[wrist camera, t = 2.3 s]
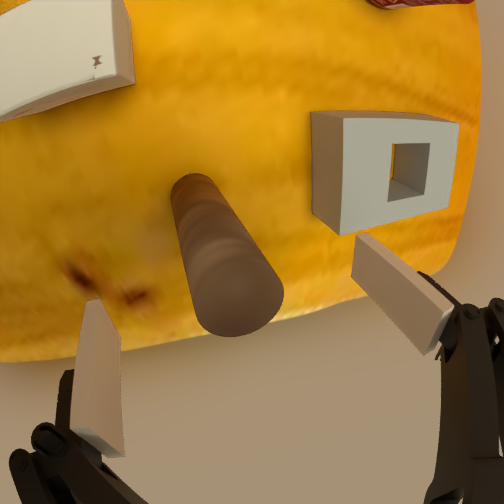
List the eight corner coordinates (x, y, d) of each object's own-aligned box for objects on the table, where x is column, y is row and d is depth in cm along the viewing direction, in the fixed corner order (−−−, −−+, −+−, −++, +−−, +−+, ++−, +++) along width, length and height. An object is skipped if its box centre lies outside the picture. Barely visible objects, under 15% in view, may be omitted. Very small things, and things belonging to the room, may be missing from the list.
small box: (131, 20, 15) (117, -33, 6) (136, 85, 18) (121, 75, 9) (35, 50, 13) (-33, 32, 4) (41, 113, 16) (-29, 132, 7)
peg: (175, 222, 25) (205, 346, 13) (166, 179, 22) (186, 280, 11) (220, 212, 26) (284, 322, 14) (214, 169, 23) (282, 255, 12)
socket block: (312, 212, 29) (339, 235, 24) (310, 111, 23) (343, 118, 19) (419, 191, 32) (447, 207, 28) (426, 114, 27) (459, 123, 23)
